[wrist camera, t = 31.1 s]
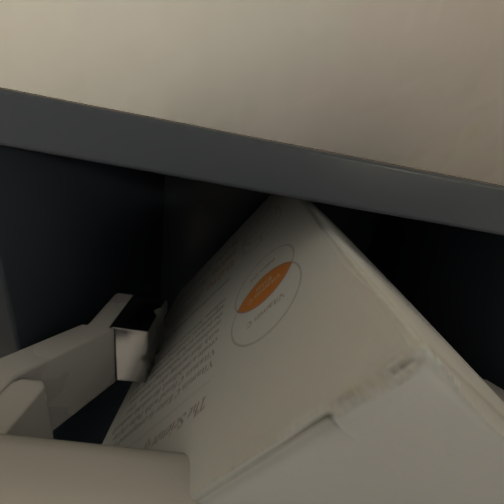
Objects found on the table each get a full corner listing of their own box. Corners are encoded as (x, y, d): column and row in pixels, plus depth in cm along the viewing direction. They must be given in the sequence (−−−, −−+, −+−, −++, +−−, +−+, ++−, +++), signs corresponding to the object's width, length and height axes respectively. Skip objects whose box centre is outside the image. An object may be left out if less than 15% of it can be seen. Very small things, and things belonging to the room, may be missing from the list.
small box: (255, 344, 15) (252, 692, 6) (178, 287, 14) (-1, 627, 4) (366, 253, 13) (687, 594, 3) (286, 173, 11) (445, 361, 2)
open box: (157, 120, 13) (-103, 67, 4) (404, 169, 15) (741, 231, 5) (149, 350, 20) (45, 569, 10) (325, 373, 21) (395, 592, 11)
